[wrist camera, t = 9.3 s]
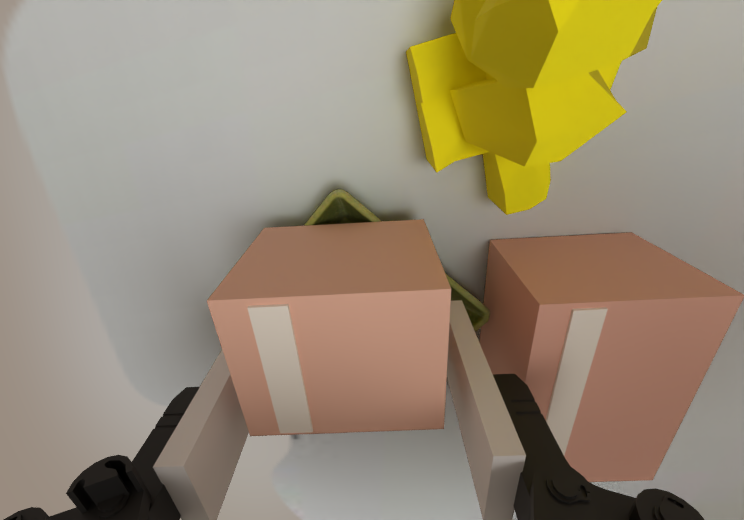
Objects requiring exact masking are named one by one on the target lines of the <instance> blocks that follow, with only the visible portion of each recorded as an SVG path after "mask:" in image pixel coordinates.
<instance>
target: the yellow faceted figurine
mask: <svg viewBox="0 0 744 520" xmlns="http://www.w3.org/2000/svg"><path fill="white" fill-rule="evenodd" d="M661 1H662V0H454V5H453V9H452V13H451V18H450V19H451V22H452V24H453V27H454V29H455V31H456V33H453V34H450V35H447V36H443V37H440V38H437V39H434V40H431V41H427V42H424V43H421V44H418V45H414V46H411V47H410V48H409V49H408V50H407V51H406V54H407V60H408V65H409V70H410V75H411V81H412V86H413V91H414V96H415V101H416V107H417V112H418V117H419V122H420V127H421V133H422V138H423V143H424V148H425V153H426V159H427V161H428V162H429V163H430V164H431V166H432V167H433V168H434V170H435V171H436V172H439V171H440V170H442V169H443V168H445V167H447V166H448V165H450V164H451V163H453V162H454V161H457V160H461V159H465V158H469V157H472V156H476V155H480V154H483V161H484V170H485V178H486V186H487V194H488V198H489V199H490V200H491V201H492V202H493V203H494V204H496V205H497V206H498V207H499V208H500V209H501V210H502V211H503V212H504V213H505V214H506V215H508V214H512V213H516V212H520V211H524V210H529V209H531V208H532V207H534V206H535V205H537V204H539V203H540V202H542V201H543V200H545V199H546V197H547V193H548V189H549V185H550V180H551V179H550V163H552V162H558V161H561V160H563V159H564V158H565V157H567V156H568V155H570V154H571V153H572V152H574V151H575V150H576V149H578V148H579V147H580V146H582V145H583V144H584V143H586V142H587V141H588V140H590V139H591V138H592V137H594V136H595V135H596V134H598V133H599V132H600V131H602V130H603V129H604V128H606V127H607V126H609V125H610V124H611V123H613V122H614V121H615V120H617V119H618V118H619V117H621V116H622V115H623V114H625V113H626V111H625V110H624V109H623V107H622V106H621V105H620V104H619V103H618V102H617V101H616V100H615V98H614V96H613V95H612V93H611V91H610V89H611V87H612V84H613V82H614V79H615V77H616V74H617V71H618V69H619V66H620V64H621V61H622V60H624V59H626V58H628V57H630V56H632V55H634V54H636V53H638V52H640V51H642V50H644V49H646V48H647V44H648V40H649V36H650V33H651V29H652V25H653V21H654V17H655V13H656V9H657V6H658V5H659V3H660V2H661Z"/></svg>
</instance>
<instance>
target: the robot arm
mask: <svg viewBox="0 0 744 520" xmlns="http://www.w3.org/2000/svg"><path fill="white" fill-rule="evenodd" d="M447 379H448V383H449V387H450V391H451V395H452V399H453V402H454V406H455V410H456V414H457V418H458V422H459V426H460V430H461V434H462V438H463V442H464V446H465V450H466V454H467V458H468V462H469V466H470V470H471V474H472V478H473V482H474V486H475V490H476V493H477V497H478V501H479V505H480V509H481V513H482V517H483V520H512V518H513V513H514V509H515V512H516V515H517V518H518V520H704V518H703V517H702V516H701V515H700V514H699V512H698V511H697V510H695V509H694V508H693V507H692V506H691V505H689V504H688V503H687V502H686V501H684V500H683V499H681V498H679V497H677V496H675V495H674V494H672V493H670V492H667V491H663V490H659V489H645V490H643V491H642V492H641V493H640V494H638V495H637V497H636V498H633V497H630V496H626V495H623V494H619V493H616V492H612V491H609V490H605V489H603V488H600V487H597V486H595V485H593V484H591V483H590V482H588V481H587V480H586V479H585V478H584V476H582V475H581V474H580V473H579V472H577V471H576V470H575V469H574V468H572V467H571V466H570V465H569V463H568V462H567V460H566V459H565V457H564V455H563V453H562V451H561V449H560V447H559V445H558V443H557V441H556V439H555V438H554V436H553V434H552V432H551V430H550V428H549V426H548V424H547V422H546V420H545V418H544V416H543V414H541V411H540V409H539V407H538V405H537V403H536V402H535V399H534V397H533V395H532V393H531V391H530V389H529V387H528V385H527V384H525V383H524V382H523V381H522V380H521V379H520V378H519V377H518V376H517V375H516V374H492V372H491V369H490V367H489V365H488V362H487V360H486V357H485V355H484V353H483V350H482V348H481V345H480V343H479V340H478V338H477V336H476V333H475V331H474V328H473V326H472V324H471V321H470V319H469V316H468V314H467V312H466V309H465V307H464V304H463V302H462V300H458V301H451V303H450V322H449V341H448V360H447ZM248 433H249V431H248V428H247V425H246V421H245V418H244V415H243V412H242V409H241V406H240V403H239V400H238V397H237V393H236V390H235V387H234V384H233V381H232V378H231V375H230V372H229V368H228V365H227V362H226V359H225V356H224V353H223V350H221V352H220V354H219V355H218V357H217V359H216V360H215V362H214V364H213V365H212V367H211V369H210V371H209V372H208V374H207V376H206V377H205V379H204V381H203V383H202V384H201V386H200V387H186V388H185V389H184V390H183V391H182V392H181V393H179V394H178V395H177V396H176V397H175V398H174V399H173V400H172V401H171V403H170V404H169V406H168V407H167V409H166V410H165V412H164V414H163V417H161V418H160V420H159V421H158V423H157V424H156V427H155V429H153V430H152V432H151V434H150V435H149V437H148V438H147V440H146V441H145V443H144V444H143V446H142V447H141V449H140V451H139V452H138V453H137V455H136V457H135V458H134V460H133V461H132V462H131V461H130V460H129V458H128V457H126V456H121V455H116V456H111V457H107V458H105V459H102V460H100V461H98V462H96V463H94V464H93V465H91V466H90V467H89V468H87V469H86V470H84V471H83V472H82V473H81V474H80V475H79V476H78V477H77V478H76V479H75V480H74V481H73V483H72V484H71V486H70V488H69V489H68V491H67V493H66V494H67V495H68V496H69V498H70V499H71V500H72V501H73V503H74V504H75V505H76V508H74V509H71V510H68V511H65V512H62V513H59V514H56V515H53V516H50V517H49V516H48V515H47V514H46V513H45V512H44V511H43V510H42V509H41V508H33V507H31V508H28V509H24V510H21V511H18V512H16V513H14V514H13V515H11V516H9V517H7V518H6V519H4V520H179V519H180V518H181V519H182V520H217V517H218V515H219V511H220V509H221V506H222V504H223V501H224V498H225V495H226V492H227V490H228V487H229V484H230V482H231V479H232V476H233V474H234V471H235V468H236V465H237V463H238V460H239V457H240V454H241V452H242V449H243V446H244V444H245V441H246V438H247V435H248Z"/></svg>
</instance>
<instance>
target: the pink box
mask: <svg viewBox="0 0 744 520" xmlns="http://www.w3.org/2000/svg"><path fill="white" fill-rule="evenodd" d="M207 303H208V306H209V309H210V312H211V316H212V319H213V322H214V325H215V328H216V331H217V334H218V337H219V340H220V344H221V347H222V350H223V353H224V356H225V359H226V362H227V365H228V368H229V372H230V375H231V378H232V381H233V384H234V387H235V390H236V393H237V397H238V400H239V403H240V406H241V409H242V412H243V415H244V418H245V421H246V425H247V428H248V431H249V434H250V436H264V435H265V436H267V435H294V434H320V433H347V432H374V431H400V430H427V429H444V417H445V398H446V379H447V360H448V341H449V322H450V303H451V287H450V285H449V282H448V280H447V277H446V274H445V272H444V269H443V267H442V264H441V262H440V259H439V257H438V254H437V252H436V249H435V247H434V244H433V242H432V239H431V237H430V234H429V232H428V229H427V227H426V224H425V222H424V219H420V220H402V221H383V222H364V223H346V224H327V225H308V226H290V227H271V228H264V229H263V230H262V231H261V233H260V234H259V235H258V236H257V238H256V239H255V240H254V241H253V243H252V244H251V245H250V247H249V248H248V249H247V250H246V252H245V253H244V254H243V255H242V257H241V258H240V259H239V260H238V262H237V263H236V264H235V266H234V267H233V268H232V269H231V271H230V272H229V273H228V274H227V276H226V277H225V278H224V279H223V281H222V282H221V283H220V285H219V286H218V287H217V288H216V290H215V291H214V292H213V293H212V295H211V296H210V297H209V299H208V300H207Z"/></svg>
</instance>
